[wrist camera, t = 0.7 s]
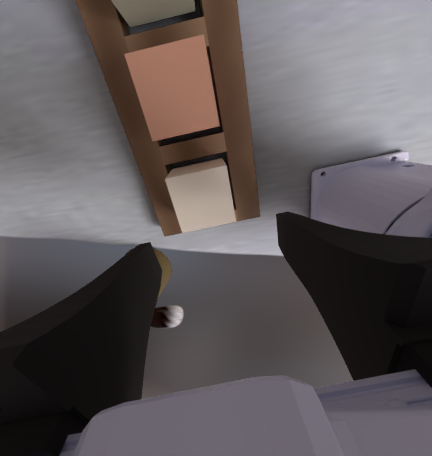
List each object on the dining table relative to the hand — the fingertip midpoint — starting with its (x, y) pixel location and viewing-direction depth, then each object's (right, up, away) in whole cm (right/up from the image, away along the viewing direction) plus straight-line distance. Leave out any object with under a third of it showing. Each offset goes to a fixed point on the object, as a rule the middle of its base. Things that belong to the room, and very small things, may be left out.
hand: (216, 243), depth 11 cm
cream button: (-1, +5, +7) cm, 9 cm away
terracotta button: (-3, +11, +4) cm, 12 cm away
